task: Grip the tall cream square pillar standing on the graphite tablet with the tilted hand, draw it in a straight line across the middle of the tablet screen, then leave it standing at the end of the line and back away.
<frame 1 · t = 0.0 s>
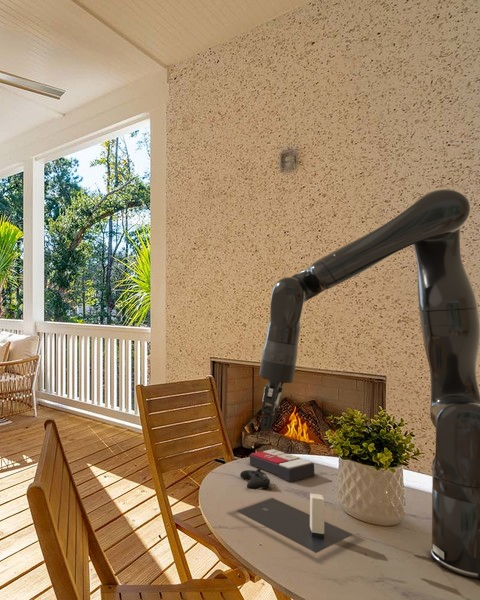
hand: (268, 425, 104), 22 cm above the table, tool pointing down, fingers open, 8 cm apart
tablet: (291, 525, 100), on the table
tall cream square pillar: (316, 534, 95), point 1 cm above the table, touching tablet
calculator: (280, 470, 133), on the table
game controller: (255, 485, 123), on the table
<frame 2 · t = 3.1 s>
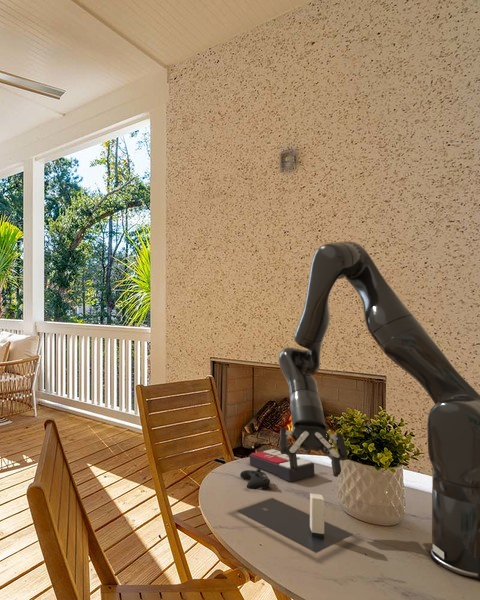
hand: (316, 473, 100), 12 cm above the table, tool tilted 45°, fingers open, 8 cm apart
nothing on the table moved.
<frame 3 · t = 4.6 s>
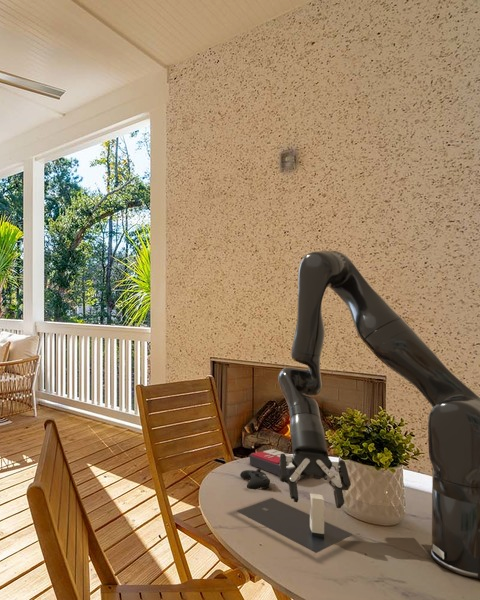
hand: (317, 503, 95), 7 cm above the table, tool tilted 45°, fingers open, 8 cm apart
nothing on the table moved.
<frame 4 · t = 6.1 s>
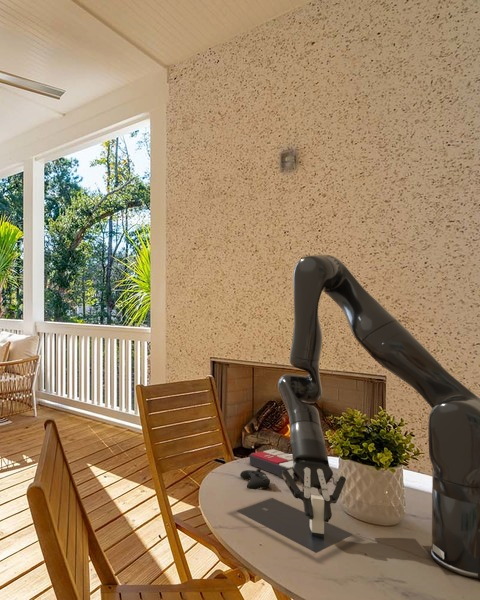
hand: (319, 519, 93), 5 cm above the table, tool tilted 45°, fingers closed on tall cream square pillar, 2 cm apart
tall cream square pillar: (316, 534, 95), point 1 cm above the table, touching gripper, tablet
everything else where it was.
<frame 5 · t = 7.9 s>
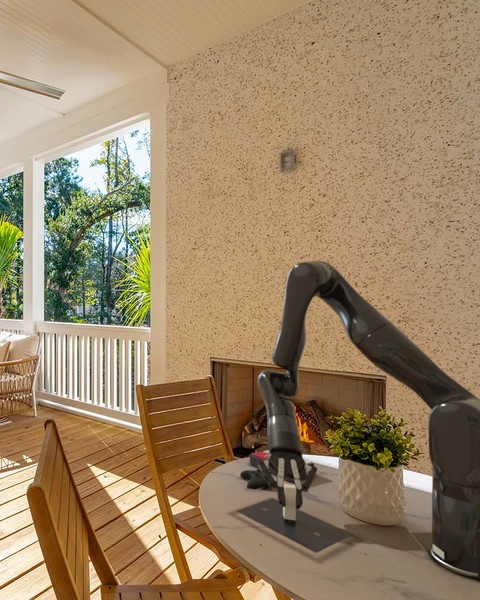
hand: (290, 506, 99), 5 cm above the table, tool tilted 45°, fingers closed on tall cream square pillar, 2 cm apart
tall cream square pillar: (289, 520, 101), point 1 cm above the table, touching gripper
everything else where it was.
when the fingers open (5 cm above the table, at t = 9.8 s): tall cream square pillar stays where it is, resting on tablet.
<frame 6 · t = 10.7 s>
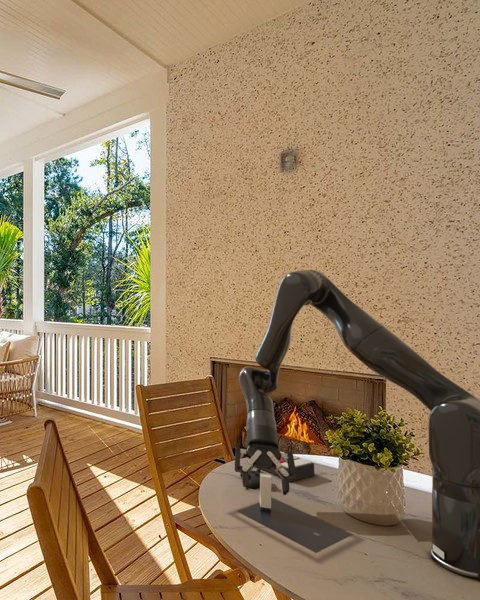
hand: (266, 491, 105), 6 cm above the table, tool tilted 45°, fingers open, 8 cm apart
tall cream square pillar: (265, 508, 106), point 1 cm above the table, touching tablet
everything else where it was.
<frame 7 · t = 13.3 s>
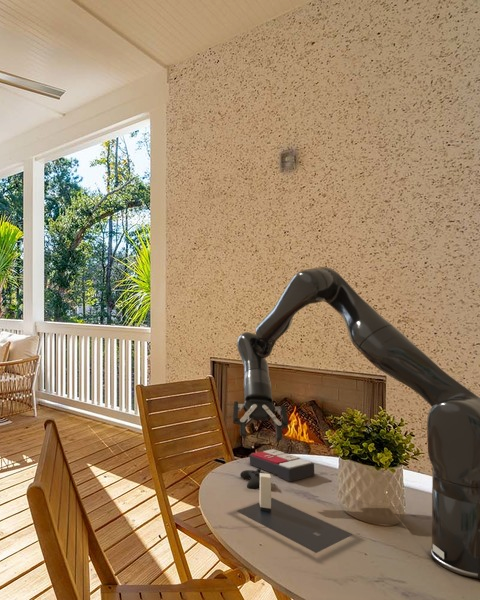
hand: (261, 438, 116), 15 cm above the table, tool tilted 45°, fingers open, 8 cm apart
nothing on the table moved.
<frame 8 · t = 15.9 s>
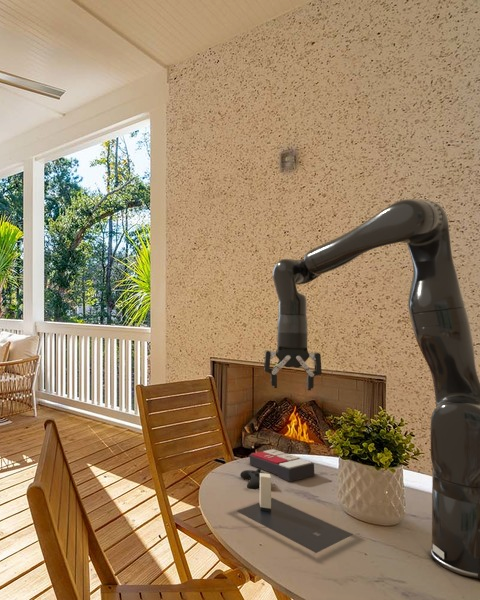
hand: (291, 388, 120), 28 cm above the table, tool pointing down, fingers open, 8 cm apart
nothing on the table moved.
at the end: tall cream square pillar 0.1 cm from the target spot, point 0.9 cm above the table; tall cream square pillar moved 13.1 cm from its start; tall cream square pillar tilted 0° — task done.
